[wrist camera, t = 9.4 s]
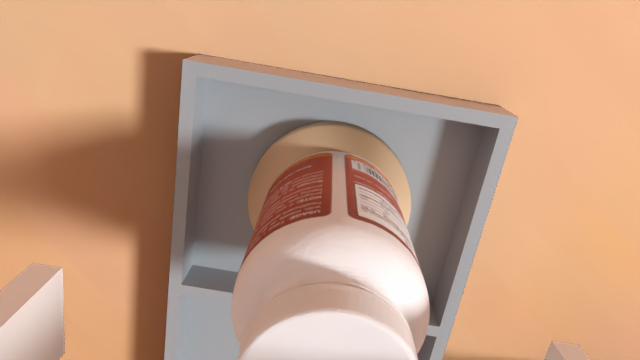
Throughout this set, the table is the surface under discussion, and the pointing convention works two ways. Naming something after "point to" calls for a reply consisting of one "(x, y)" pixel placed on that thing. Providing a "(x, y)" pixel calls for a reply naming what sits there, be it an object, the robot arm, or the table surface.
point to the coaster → (320, 140)
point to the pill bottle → (330, 268)
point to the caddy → (274, 121)
